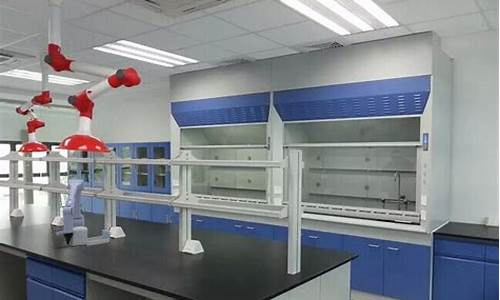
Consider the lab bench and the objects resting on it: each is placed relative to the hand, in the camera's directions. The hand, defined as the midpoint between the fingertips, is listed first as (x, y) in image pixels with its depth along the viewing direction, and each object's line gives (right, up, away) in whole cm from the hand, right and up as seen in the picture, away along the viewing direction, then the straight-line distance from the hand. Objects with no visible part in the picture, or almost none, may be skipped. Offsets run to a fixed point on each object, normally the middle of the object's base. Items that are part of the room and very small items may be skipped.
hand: (68, 244), depth 256 cm
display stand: (+13, -2, +12) cm, 18 cm away
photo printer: (+5, -2, +5) cm, 8 cm away
